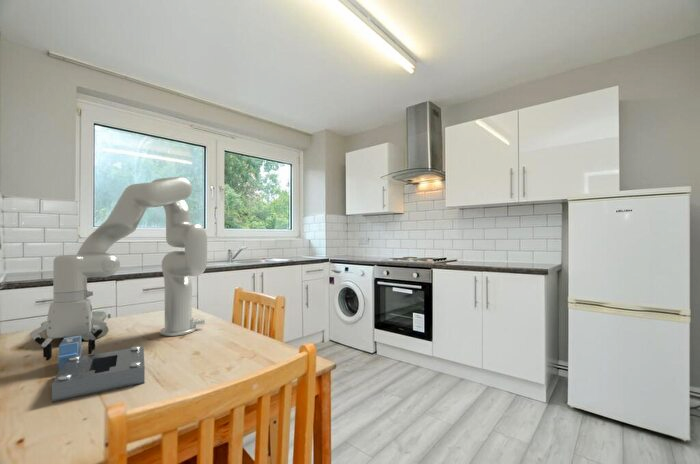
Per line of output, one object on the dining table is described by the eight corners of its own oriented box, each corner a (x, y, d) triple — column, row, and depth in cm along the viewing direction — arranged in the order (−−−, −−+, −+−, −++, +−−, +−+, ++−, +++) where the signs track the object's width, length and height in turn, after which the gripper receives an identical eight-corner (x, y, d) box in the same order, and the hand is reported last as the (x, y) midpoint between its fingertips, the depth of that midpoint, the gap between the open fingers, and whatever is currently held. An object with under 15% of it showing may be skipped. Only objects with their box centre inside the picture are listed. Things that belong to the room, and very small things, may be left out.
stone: (111, 325, 120) (36, 327, 108) (106, 348, 120) (31, 352, 108) (109, 307, 142) (48, 306, 130) (106, 326, 142) (44, 327, 130)
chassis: (143, 360, 100) (143, 344, 100) (144, 383, 85) (144, 364, 85) (66, 374, 91) (66, 356, 91) (51, 402, 75) (51, 381, 75)
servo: (82, 358, 102) (82, 331, 102) (76, 371, 93) (76, 341, 93) (65, 361, 100) (65, 333, 100) (57, 374, 90) (57, 343, 90)
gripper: (108, 292, 104) (107, 346, 104) (33, 298, 95) (33, 357, 95) (106, 296, 98) (105, 354, 98) (26, 302, 89) (25, 366, 88)
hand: (70, 355), depth 96 cm, fingers open, 9 cm apart
